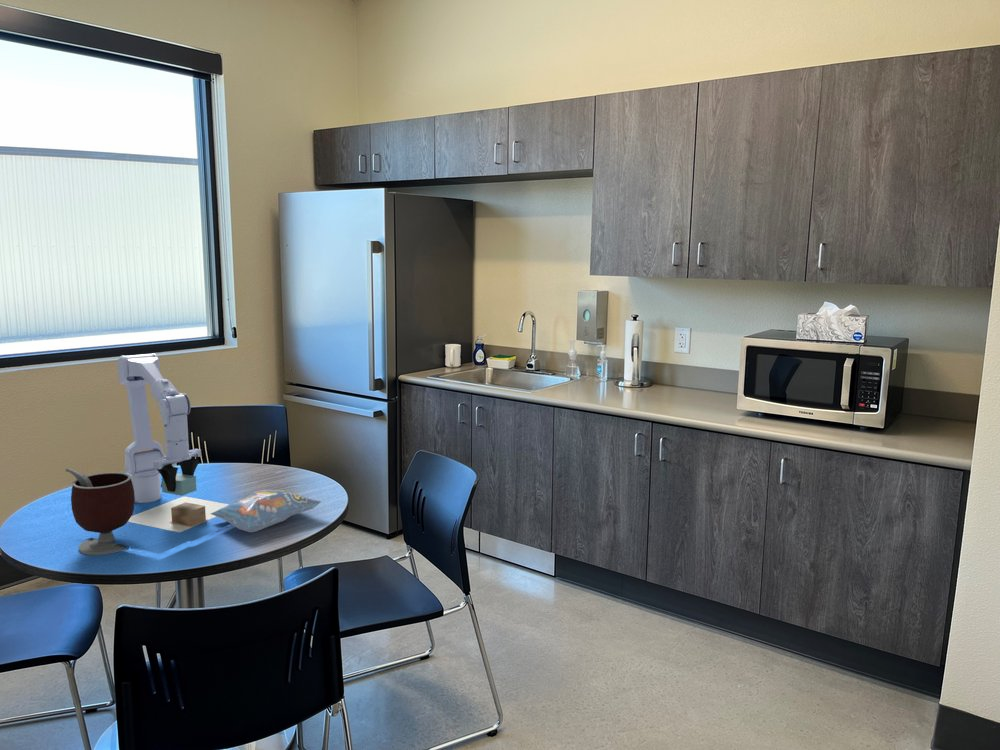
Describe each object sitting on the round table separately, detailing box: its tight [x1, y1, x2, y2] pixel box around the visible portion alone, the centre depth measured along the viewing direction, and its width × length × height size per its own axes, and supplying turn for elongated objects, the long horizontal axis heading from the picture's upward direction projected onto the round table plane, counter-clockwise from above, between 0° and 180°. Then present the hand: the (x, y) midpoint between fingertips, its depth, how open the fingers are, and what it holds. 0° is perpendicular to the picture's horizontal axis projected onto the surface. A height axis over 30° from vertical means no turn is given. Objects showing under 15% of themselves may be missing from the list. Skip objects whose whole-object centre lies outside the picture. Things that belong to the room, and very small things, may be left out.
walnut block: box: [171, 502, 206, 526], centre depth 197 cm, size 7×5×4 cm
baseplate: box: [127, 495, 230, 533], centre depth 203 cm, size 21×22×1 cm
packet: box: [211, 489, 322, 533], centre depth 200 cm, size 17×24×8 cm
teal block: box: [161, 472, 197, 497], centre depth 197 cm, size 7×5×4 cm
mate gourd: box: [65, 467, 136, 556], centre depth 182 cm, size 16×14×20 cm
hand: (179, 488), depth 197 cm, fingers closed on teal block, 5 cm apart
